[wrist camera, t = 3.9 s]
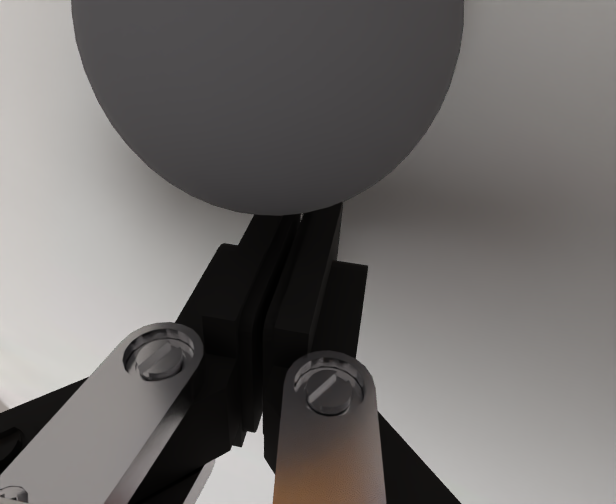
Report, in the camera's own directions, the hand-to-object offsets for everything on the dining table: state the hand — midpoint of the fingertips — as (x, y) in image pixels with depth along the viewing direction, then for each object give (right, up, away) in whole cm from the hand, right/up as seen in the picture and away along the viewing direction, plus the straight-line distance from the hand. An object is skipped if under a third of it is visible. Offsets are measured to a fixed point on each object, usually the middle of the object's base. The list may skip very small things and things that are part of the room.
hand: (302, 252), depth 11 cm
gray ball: (0, +3, -4) cm, 5 cm away
